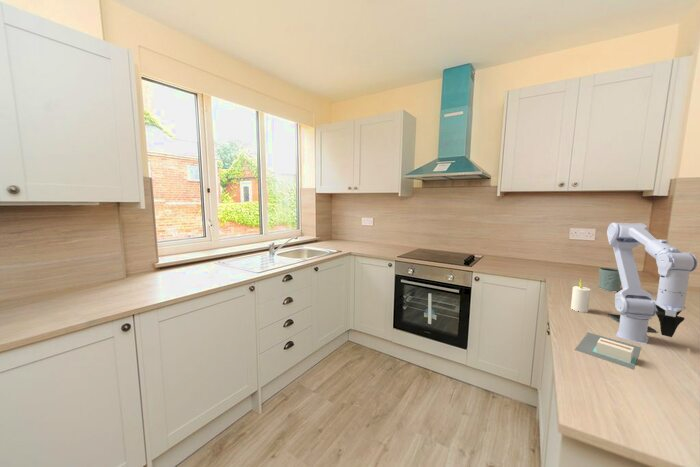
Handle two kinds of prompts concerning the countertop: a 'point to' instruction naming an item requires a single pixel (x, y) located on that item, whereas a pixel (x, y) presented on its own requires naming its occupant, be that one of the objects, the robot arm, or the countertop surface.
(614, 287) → the green pot
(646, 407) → the countertop surface
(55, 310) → the countertop surface
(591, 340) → the mat
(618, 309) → the robot arm
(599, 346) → the card box
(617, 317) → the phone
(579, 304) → the candle
